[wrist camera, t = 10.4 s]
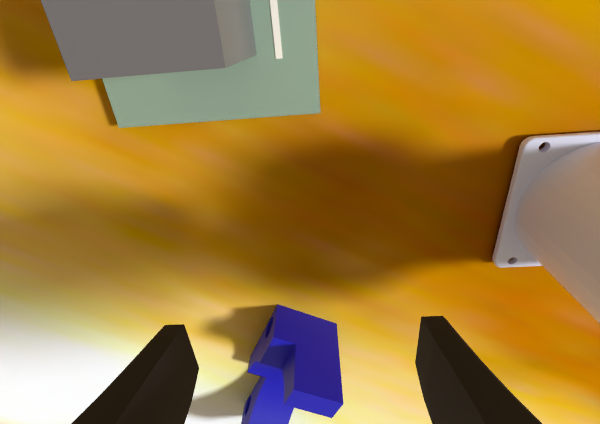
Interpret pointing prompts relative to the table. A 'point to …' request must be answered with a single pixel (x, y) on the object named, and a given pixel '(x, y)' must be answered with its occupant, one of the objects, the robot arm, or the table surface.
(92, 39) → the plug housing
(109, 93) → the board
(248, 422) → the cable clip
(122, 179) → the table surface
